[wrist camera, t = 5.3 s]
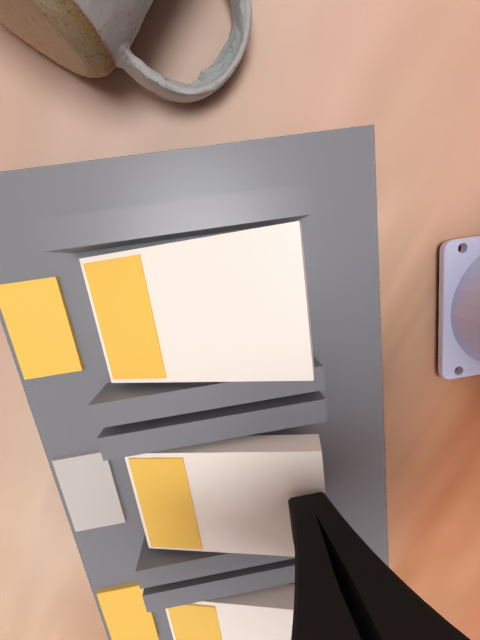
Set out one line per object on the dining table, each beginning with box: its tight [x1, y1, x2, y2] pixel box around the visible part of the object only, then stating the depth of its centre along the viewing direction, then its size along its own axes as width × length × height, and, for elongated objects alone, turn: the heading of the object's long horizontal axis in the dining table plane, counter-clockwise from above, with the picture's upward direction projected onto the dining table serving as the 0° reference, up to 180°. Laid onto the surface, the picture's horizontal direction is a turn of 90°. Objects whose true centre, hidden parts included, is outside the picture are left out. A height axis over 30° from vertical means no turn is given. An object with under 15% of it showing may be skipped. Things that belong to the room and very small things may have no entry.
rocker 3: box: [165, 584, 295, 640], centre depth 14 cm, size 8×5×1 cm, turn 98°
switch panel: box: [0, 125, 389, 640], centre depth 14 cm, size 16×28×5 cm, turn 8°
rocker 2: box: [125, 434, 326, 557], centre depth 12 cm, size 8×5×1 cm, turn 98°
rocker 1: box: [79, 221, 314, 383], centre depth 10 cm, size 8×5×1 cm, turn 98°
